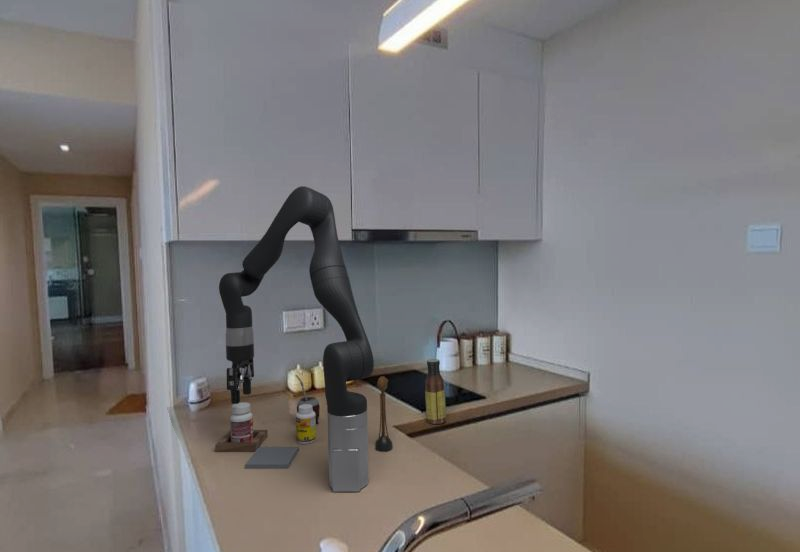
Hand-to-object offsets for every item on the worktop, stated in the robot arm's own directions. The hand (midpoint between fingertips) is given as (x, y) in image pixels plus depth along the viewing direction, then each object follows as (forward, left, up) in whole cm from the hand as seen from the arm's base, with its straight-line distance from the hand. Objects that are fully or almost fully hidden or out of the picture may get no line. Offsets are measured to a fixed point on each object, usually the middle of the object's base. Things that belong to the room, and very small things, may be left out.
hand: (241, 398), depth 133 cm
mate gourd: (+16, -15, -13) cm, 25 cm away
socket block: (0, 0, -13) cm, 13 cm away
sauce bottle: (+17, -56, -13) cm, 60 cm away
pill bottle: (0, 0, -13) cm, 13 cm away
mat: (-10, -12, -13) cm, 21 cm away
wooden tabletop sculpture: (-3, -41, -13) cm, 43 cm away
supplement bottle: (+2, -18, -13) cm, 22 cm away
